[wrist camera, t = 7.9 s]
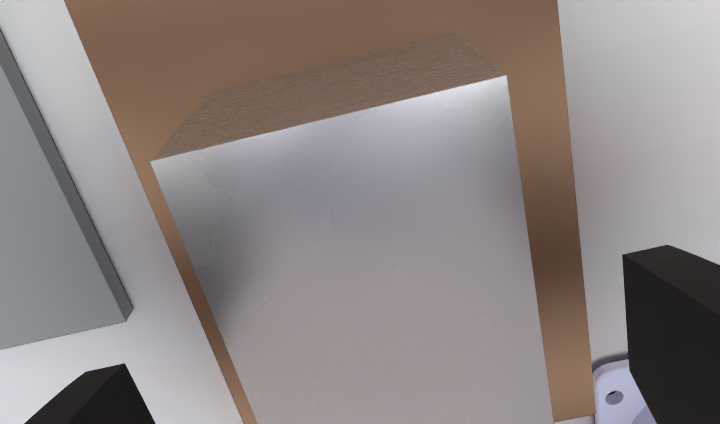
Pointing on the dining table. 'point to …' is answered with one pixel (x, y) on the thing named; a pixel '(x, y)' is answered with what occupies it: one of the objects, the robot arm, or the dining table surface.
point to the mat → (45, 232)
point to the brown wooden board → (333, 43)
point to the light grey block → (366, 240)
